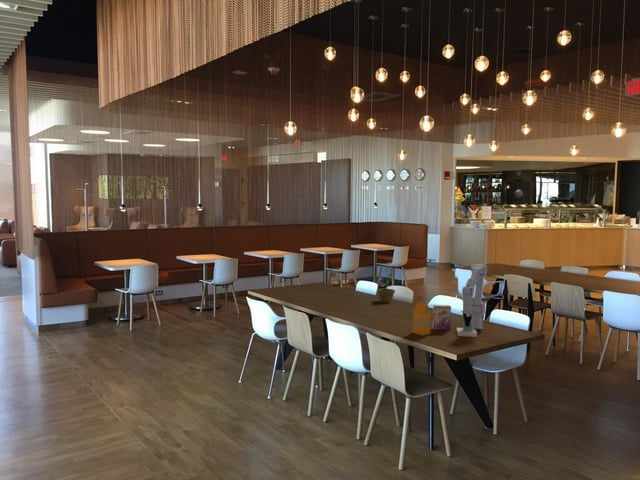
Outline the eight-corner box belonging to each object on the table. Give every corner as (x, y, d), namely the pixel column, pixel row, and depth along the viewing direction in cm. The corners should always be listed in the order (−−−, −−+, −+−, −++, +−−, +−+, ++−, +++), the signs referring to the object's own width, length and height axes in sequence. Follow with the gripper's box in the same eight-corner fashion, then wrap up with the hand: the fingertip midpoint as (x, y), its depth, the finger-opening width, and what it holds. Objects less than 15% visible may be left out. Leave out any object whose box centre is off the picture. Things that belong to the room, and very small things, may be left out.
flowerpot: (394, 303, 439) (395, 268, 437) (377, 303, 441) (378, 267, 439) (394, 300, 453) (395, 266, 451) (377, 299, 455) (378, 265, 453)
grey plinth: (456, 332, 350) (456, 327, 349) (475, 333, 347) (475, 328, 347) (457, 336, 338) (457, 332, 338) (476, 337, 335) (477, 333, 335)
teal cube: (462, 329, 345) (463, 321, 345) (470, 329, 344) (471, 322, 344) (463, 331, 340) (463, 323, 340) (471, 331, 339) (471, 324, 339)
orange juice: (422, 335, 337) (423, 305, 335) (412, 332, 344) (413, 302, 342) (430, 333, 341) (431, 303, 340) (420, 331, 348) (421, 301, 347)
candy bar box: (433, 330, 351) (434, 306, 350) (432, 328, 356) (432, 304, 355) (450, 330, 351) (451, 306, 350) (448, 328, 356) (449, 304, 355)
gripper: (460, 302, 349) (459, 322, 350) (462, 306, 335) (461, 327, 336) (471, 302, 347) (470, 322, 348) (473, 307, 333) (472, 328, 334)
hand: (466, 325), depth 342 cm, fingers open, 7 cm apart
